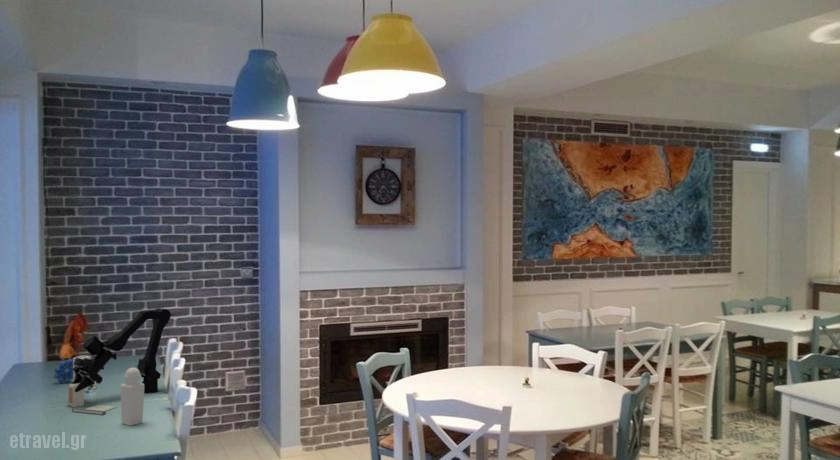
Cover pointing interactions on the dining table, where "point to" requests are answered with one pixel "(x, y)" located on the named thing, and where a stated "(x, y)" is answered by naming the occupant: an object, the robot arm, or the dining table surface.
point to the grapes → (64, 371)
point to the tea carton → (75, 396)
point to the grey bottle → (132, 398)
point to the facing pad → (101, 407)
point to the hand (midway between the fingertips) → (73, 390)
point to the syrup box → (76, 365)
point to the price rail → (89, 411)
